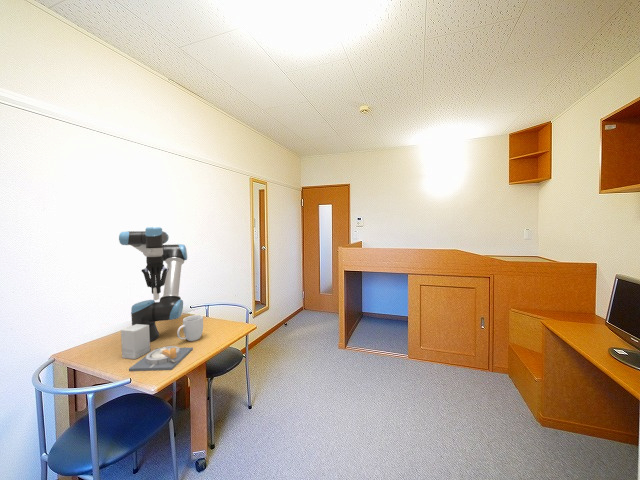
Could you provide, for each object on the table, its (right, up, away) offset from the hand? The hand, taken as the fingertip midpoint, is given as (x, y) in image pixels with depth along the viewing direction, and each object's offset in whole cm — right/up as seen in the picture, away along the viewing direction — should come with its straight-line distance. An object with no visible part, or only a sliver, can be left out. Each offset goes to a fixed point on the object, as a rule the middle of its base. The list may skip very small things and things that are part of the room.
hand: (156, 299), depth 131 cm
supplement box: (-10, -30, 0) cm, 32 cm away
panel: (+8, -30, -6) cm, 31 cm away
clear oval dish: (+10, -28, -8) cm, 31 cm away
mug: (+10, -29, +17) cm, 35 cm away
